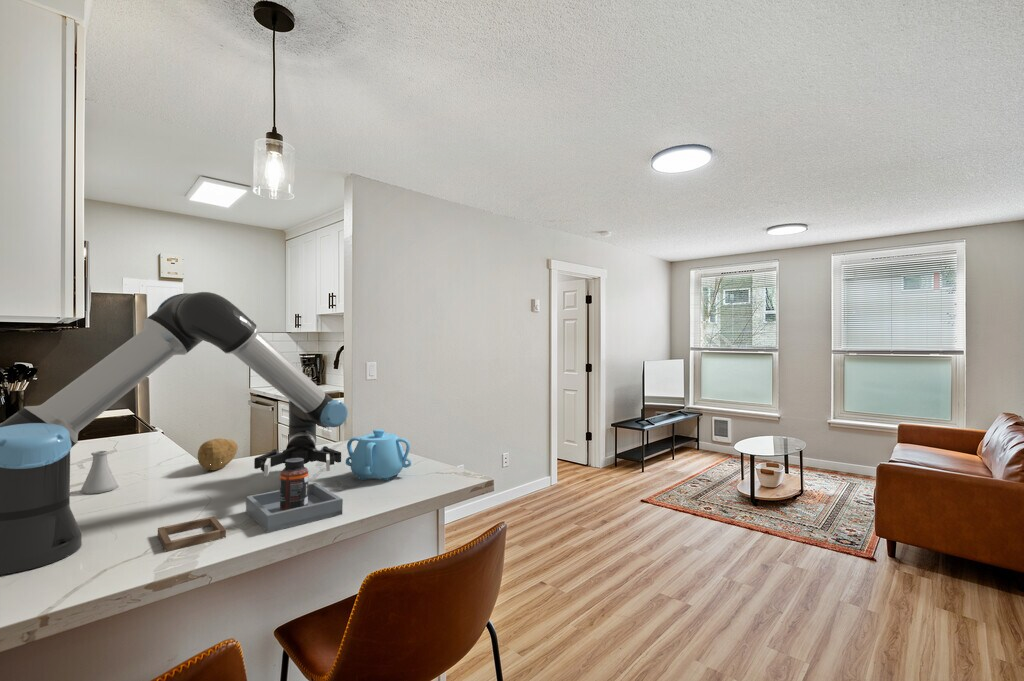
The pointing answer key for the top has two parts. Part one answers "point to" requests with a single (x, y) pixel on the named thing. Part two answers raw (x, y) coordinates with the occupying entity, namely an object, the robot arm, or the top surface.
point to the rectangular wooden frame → (191, 540)
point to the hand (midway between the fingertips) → (297, 468)
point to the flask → (99, 475)
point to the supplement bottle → (293, 484)
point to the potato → (216, 453)
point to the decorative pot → (378, 455)
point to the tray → (273, 518)
